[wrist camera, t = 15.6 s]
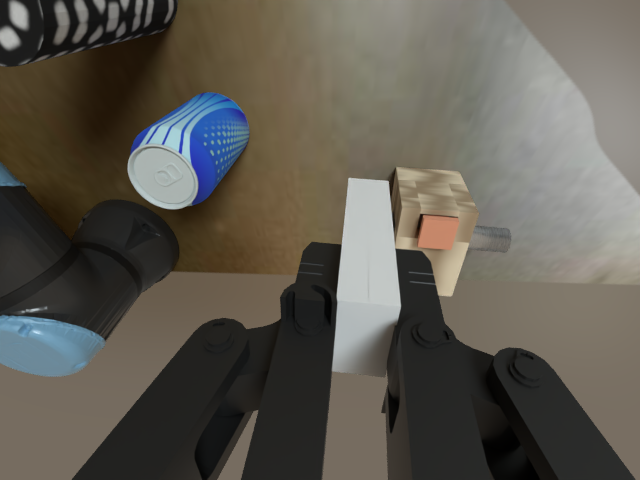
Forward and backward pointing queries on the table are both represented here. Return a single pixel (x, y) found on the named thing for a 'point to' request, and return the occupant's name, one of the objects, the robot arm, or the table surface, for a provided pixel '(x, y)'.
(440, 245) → the plunger
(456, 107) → the table surface
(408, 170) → the block
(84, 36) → the spotted tube
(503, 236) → the pin
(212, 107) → the beer can
